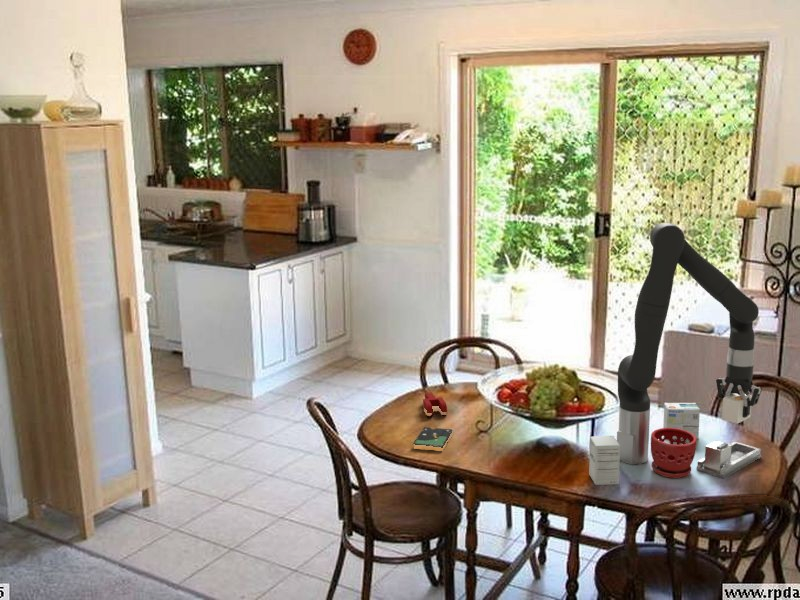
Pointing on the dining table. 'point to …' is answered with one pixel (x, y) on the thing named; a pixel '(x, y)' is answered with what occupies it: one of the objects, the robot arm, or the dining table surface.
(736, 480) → the dining table surface
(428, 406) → the toy lobster
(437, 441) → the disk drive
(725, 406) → the block
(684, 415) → the light bulb box
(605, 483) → the supplement box
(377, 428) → the dining table surface
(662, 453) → the plant pot
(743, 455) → the din rail
